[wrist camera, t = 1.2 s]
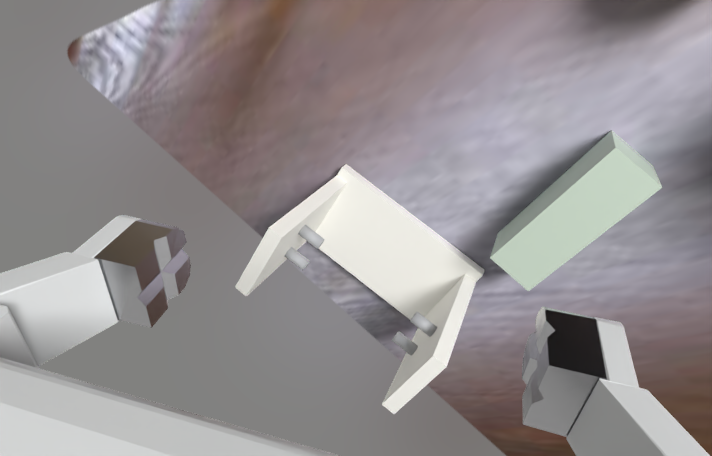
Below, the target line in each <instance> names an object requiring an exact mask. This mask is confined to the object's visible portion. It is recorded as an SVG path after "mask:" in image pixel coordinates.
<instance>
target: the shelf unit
mask: <svg viewBox="0 0 712 456" xmlns="http://www.w3.org/2000/svg"><path fill="white" fill-rule="evenodd" d="M306 241H308V242H309V243H310V244H311V245H313V246H314V247H315V248H317V249H318V248H319V249H320V250H321V251H323V252H324V253H325V254H327V255H328V256H329V257H330V258H332V259H333V260H334V261H336V262H337V263H338V264H339V265H341V266H342V267H343V268H345V269H346V270H347V271H348V272H350V273H351V274H352V275H353V276H355V277H356V278H357V279H359V280H360V281H361V282H362V283H364V284H365V285H366V286H368V287H369V288H370V289H371V290H373V291H374V292H375V293H377V294H378V295H379V296H380V297H382V298H383V299H384V300H386V301H387V302H388V303H389V304H391V305H392V306H393V307H394V308H396V309H397V310H398V311H400V312H401V313H402V314H403V315H405V316H406V317H407V318H409V319H410V322H411V323H413V324H414V325H415V326H416V327H418V329H417V331H416V333H415V335H414V337H413V340H412V341H411V340H410V339H408V338H407V337H406V336H405V335H403V334H402V333H401V332H400V331H398V332H397V333H396V334H395V336H394V337H393V339H392V341H393V342H394V343H396V344H397V345H398V346H399V347H401V348H402V349H403V350H404V351H406V354H405V356H404V359H403V361H402V363H401V365H400V367H399V369H398V371H397V374H396V376H395V378H394V380H393V382H392V384H391V386H390V388H389V390H388V392H387V395H386V397H385V399H384V401H383V403H382V405H383V406H385V407H386V408H387V409H388V410H389V411H391V412H392V413H393V414H395V413H396V412H397V411H398V410H399V409H400V408H401V407H403V405H405V404H406V403H407V402H408V401H409V400H410V399H411V398H412V397H414V396H415V395H416V394H417V393H418V392H419V391H420V390H421V389H422V388H424V387H425V386H426V385H427V384H428V383H429V382H430V381H431V380H432V379H434V378H435V377H436V376H437V375H438V374H439V373H440V372H441V371H442V370H444V369H445V368H446V367H447V364H448V361H449V359H450V356H451V353H452V350H453V347H454V344H455V341H456V338H457V336H458V333H459V330H460V327H461V324H462V321H463V318H464V315H465V313H466V310H467V307H468V304H469V301H470V298H471V295H472V292H473V289H474V287H475V284H476V282H477V281H478V280H479V279H480V278H481V277H482V276H483V274H484V271H485V270H484V269H483V268H482V267H480V266H479V265H478V264H476V263H475V262H474V261H472V260H471V259H470V258H468V257H467V256H466V255H465V254H463V253H462V252H461V251H459V250H458V249H457V248H455V247H454V246H453V245H451V244H450V243H449V242H448V241H446V240H445V239H444V238H442V237H441V236H440V235H438V234H437V233H436V232H434V231H433V230H432V229H430V228H429V227H428V226H427V225H425V224H424V223H423V222H421V221H420V220H419V219H417V218H416V217H415V216H413V215H412V214H411V213H410V212H408V211H407V210H406V209H404V208H403V207H402V206H400V205H399V204H398V203H396V202H395V201H394V200H393V199H391V198H390V197H389V196H387V195H386V194H385V193H383V192H382V191H381V190H379V189H378V188H377V187H376V186H374V185H373V184H372V183H370V182H369V181H368V180H366V179H365V178H364V177H362V176H361V175H360V174H358V173H357V172H356V171H355V170H353V169H352V168H351V167H349V166H348V165H347V164H346V165H344V166H343V167H342V168H341V170H340V171H339V173H338V174H337V176H335V177H334V178H333V179H331V180H330V181H329V182H328V183H326V184H325V185H324V186H322V187H321V188H320V189H318V190H317V191H316V192H315V193H313V194H312V195H311V196H309V197H308V198H307V199H305V200H304V201H303V202H302V203H300V204H299V205H298V206H296V207H295V208H294V209H292V210H291V211H290V212H288V213H287V214H286V215H285V216H283V217H282V218H281V219H279V220H278V221H277V222H275V223H274V224H273V225H272V226H270V227H269V228H268V230H267V232H266V234H265V235H264V237H263V239H262V241H261V242H260V244H259V246H258V248H257V249H256V251H255V253H254V255H253V256H252V258H251V260H250V262H249V263H248V265H247V267H246V269H245V271H244V272H243V274H242V276H241V278H240V280H239V281H238V283H237V285H236V286H235V288H236V289H238V290H239V291H240V292H242V293H243V294H244V295H245V296H248V295H249V294H250V293H251V292H252V291H253V290H254V289H255V288H256V287H258V286H259V285H260V284H261V283H262V282H263V281H264V280H265V279H266V278H267V277H268V276H269V275H271V274H272V273H273V272H274V271H275V270H276V269H277V268H278V267H279V266H280V265H281V264H282V263H283V262H285V261H286V260H287V259H289V260H290V261H291V262H292V263H294V264H295V265H296V266H298V267H299V268H300V269H301V270H304V269H305V268H306V267H307V265H308V264H309V262H310V261H309V260H308V259H306V258H305V257H304V256H303V255H301V254H300V253H299V252H297V251H296V250H298V249H299V248H300V247H301V246H302V245H303V244H304V243H305V242H306Z"/></svg>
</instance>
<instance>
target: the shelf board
mask: <svg viewBox="0 0 712 456" xmlns="http://www.w3.org/2000/svg"><path fill="white" fill-rule="evenodd" d="M661 188H662V185H661V183H660V181H659V178H658V176H657V174H656V172H655V169H654V167H653V165H651V164H650V163H649V162H648V161H647V160H646V159H644V158H643V157H642V156H641V155H640V154H639V153H637V152H636V151H635V150H634V149H633V148H632V147H630V146H629V145H628V144H627V143H626V142H625V141H623V140H622V139H621V138H620V137H619V136H618V135H616V134H615V133H614V132H613V131H612V130H611V131H610V132H609V133H608V134H607V135H606V136H605V137H604V138H602V139H601V140H600V141H599V142H598V143H597V144H596V145H595V146H594V147H592V148H591V149H590V150H589V151H588V152H587V153H586V154H585V155H584V156H583V157H581V158H580V159H579V160H578V161H577V162H576V163H575V164H574V165H573V166H571V167H570V168H569V169H568V170H567V171H566V172H565V173H564V174H563V175H562V176H560V177H559V178H558V179H557V180H556V181H555V182H554V183H553V184H552V185H550V186H549V187H548V188H547V189H546V190H545V191H544V192H543V193H542V194H541V195H539V196H538V197H537V198H536V199H535V200H534V201H533V202H532V203H531V204H529V205H528V206H527V207H526V208H525V209H524V210H523V211H522V212H521V213H520V214H518V215H517V216H516V217H515V218H514V219H513V220H512V221H511V222H510V223H508V224H507V225H506V226H505V227H504V228H503V229H502V230H501V231H500V232H499V233H498V235H497V238H496V241H495V244H494V247H493V250H492V253H491V256H490V258H491V259H492V260H493V261H494V262H495V263H496V264H497V265H499V266H500V267H501V268H502V269H503V270H504V271H506V272H507V273H508V274H509V275H510V276H511V277H512V278H514V279H515V280H516V281H517V282H518V283H519V284H520V285H522V286H523V287H524V288H525V289H526V290H527V291H529V290H531V289H532V288H533V287H534V286H536V285H537V284H538V283H540V282H541V281H542V280H544V279H545V278H546V277H547V276H549V275H550V274H551V273H553V272H554V271H555V270H556V269H558V268H559V267H560V266H562V265H563V264H564V263H565V262H567V261H568V260H569V259H571V258H572V257H573V256H575V255H576V254H577V253H578V252H580V251H581V250H582V249H584V248H585V247H586V246H587V245H589V244H590V243H591V242H593V241H594V240H595V239H596V238H598V237H599V236H600V235H602V234H603V233H604V232H606V231H607V230H608V229H609V228H611V227H612V226H613V225H615V224H616V223H617V222H618V221H620V220H621V219H622V218H624V217H625V216H626V215H627V214H629V213H630V212H631V211H633V210H634V209H635V208H637V207H638V206H639V205H640V204H642V203H643V202H644V201H646V200H647V199H648V198H649V197H651V196H652V195H653V194H655V193H656V192H657V191H658V190H660V189H661Z"/></svg>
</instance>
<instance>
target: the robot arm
mask: <svg viewBox="0 0 712 456" xmlns="http://www.w3.org/2000/svg"><path fill="white" fill-rule="evenodd" d="M185 244H186V238H185V234H184V231H183V230H181V229H180V228H177V227H173V226H169V225H165V224H161V223H157V222H153V221H149V220H145V219H139V218H135V217H131V216H127V215H121V216H117V217H116V218H114V219H113V220H112V221H111V222H109V223H108V224H107V225H106V226H105V227H103V228H102V229H101V230H100V231H99V232H97V233H96V234H95V235H94V236H92V237H91V238H90V239H89V240H88V241H86V242H85V243H84V244H83V245H82V246H80V247H79V248H78V249H77V250H75V251H74V252H73V253H69V252H65V253H61V254H58V255H56V256H53V257H49V258H46V259H43V260H40V261H37V262H34V263H31V264H28V265H25V266H22V267H19V268H16V269H13V270H9V271H6V272H3V273H0V456H339V455H336V454H332V453H329V452H325V451H322V450H319V449H315V448H312V447H308V446H305V445H301V444H298V443H294V442H291V441H287V440H284V439H280V438H277V437H274V436H270V435H267V434H263V433H259V432H256V431H253V430H249V429H245V428H242V427H239V426H235V425H232V424H229V423H225V422H222V421H218V420H215V419H211V418H207V417H204V416H201V415H197V414H194V413H191V412H187V411H184V410H180V409H177V408H173V407H170V406H166V405H163V404H159V403H156V402H153V401H149V400H146V399H142V398H139V397H136V396H132V395H128V394H125V393H122V392H118V391H115V390H112V389H108V388H104V387H101V386H98V385H94V384H91V383H88V382H84V381H81V380H77V379H74V378H70V377H67V376H63V375H60V374H56V373H53V372H49V371H46V370H43V369H39V368H38V366H40V365H42V364H44V363H45V362H47V361H49V360H51V359H52V358H54V357H56V356H58V355H60V354H61V353H63V352H65V351H67V350H69V349H71V348H72V347H74V346H76V345H78V344H80V343H81V342H83V341H85V340H87V339H89V338H90V337H92V336H94V335H95V334H97V333H99V332H101V331H103V330H105V329H107V328H108V327H110V326H112V325H114V324H116V323H117V322H118V320H120V321H124V322H129V323H133V324H137V325H142V326H146V327H150V328H151V327H153V325H154V324H155V323H156V322H157V320H158V319H159V318H160V317H161V316H162V315H163V313H164V312H165V311H166V310H167V308H168V301H167V300H168V299H170V298H172V297H175V296H177V295H179V294H180V293H181V291H182V290H183V289H184V287H185V286H186V283H187V281H188V278H189V276H190V266H191V265H190V259H189V257H188V255H187V254H186V253H185V252H184V250H183V249H182V248H183V246H184V245H185ZM535 321H536V332H534V333H532V334H531V335H530V336H529V338H528V341H527V344H526V348H525V352H524V357H523V366H522V379H523V380H524V382H525V383H526V384H527V386H526V389H525V391H524V394H523V396H522V399H523V424H524V425H527V426H531V427H534V428H538V429H541V430H545V431H548V432H552V433H555V434H558V435H562V436H565V437H567V441H568V442H569V444H570V446H571V447H572V449H573V451H574V453H575V454H576V456H710V455H709V454H708V453H707V452H706V451H705V450H704V449H703V448H702V447H701V446H700V445H699V444H698V443H697V442H696V441H695V440H694V439H693V437H692V436H691V435H690V434H689V433H688V432H687V431H686V430H685V429H684V428H683V427H682V426H681V425H680V424H679V423H678V422H677V421H676V420H675V419H674V417H673V416H672V415H671V414H670V413H669V412H668V411H667V410H666V409H665V408H664V407H663V406H662V405H661V404H660V403H659V402H658V401H657V400H656V399H655V397H654V396H653V395H652V394H651V393H650V392H649V391H648V390H646V389H642V388H639V385H638V381H637V378H636V374H635V370H634V366H633V362H632V358H631V354H630V350H629V346H628V342H627V338H626V334H625V330H624V326H623V325H622V324H621V323H620V322H616V321H611V320H606V319H601V318H596V317H593V318H592V317H589V316H584V315H579V314H575V313H570V312H565V311H560V310H556V309H551V308H546V307H542V308H541V309H540V311H539V313H538V315H537V317H536V320H535Z"/></svg>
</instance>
